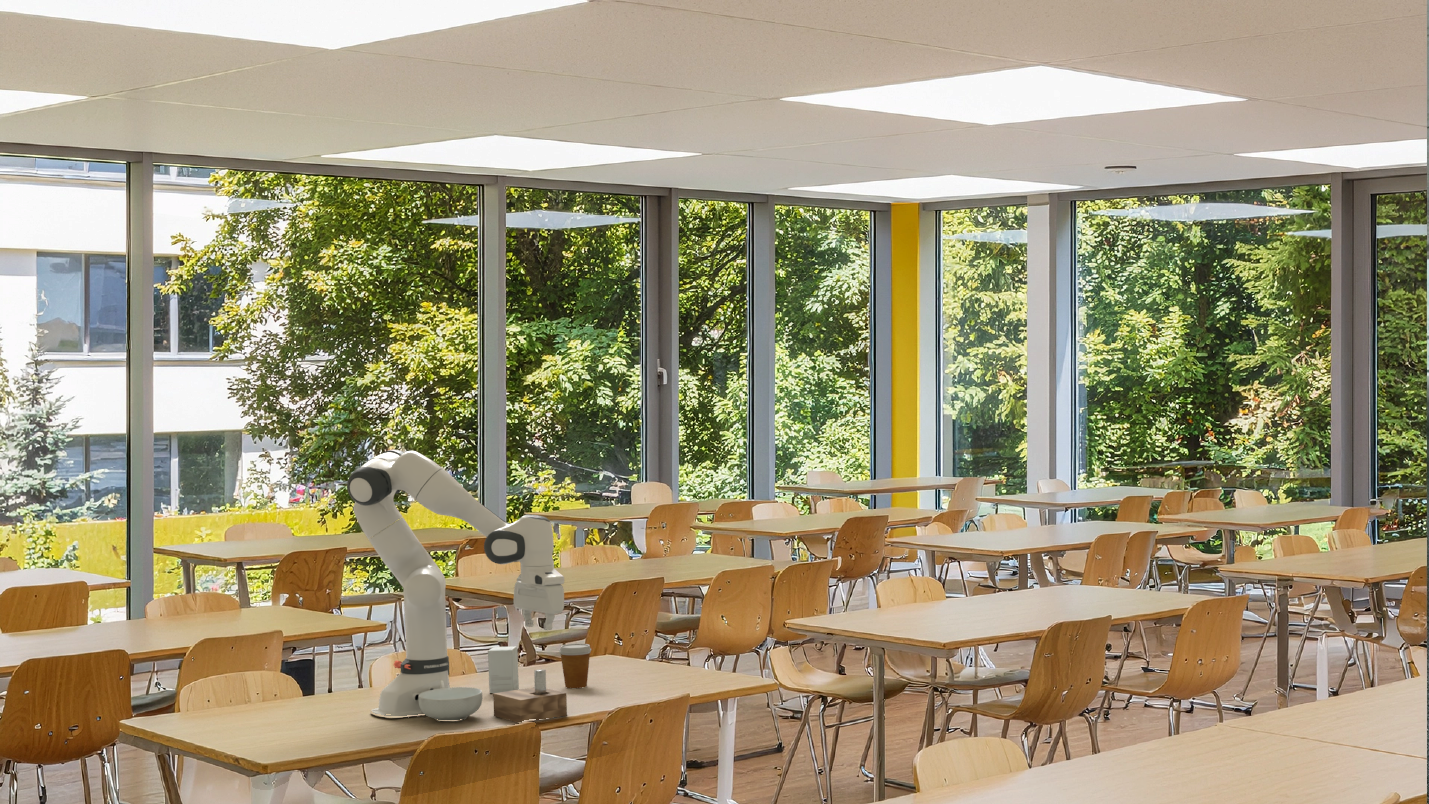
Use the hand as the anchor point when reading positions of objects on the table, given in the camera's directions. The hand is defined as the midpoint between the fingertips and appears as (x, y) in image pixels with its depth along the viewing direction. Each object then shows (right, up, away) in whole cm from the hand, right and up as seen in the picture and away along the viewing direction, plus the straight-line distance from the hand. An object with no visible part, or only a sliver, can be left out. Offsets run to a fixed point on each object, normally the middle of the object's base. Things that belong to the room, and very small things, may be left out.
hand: (538, 628), depth 393 cm
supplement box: (-15, -24, +38) cm, 47 cm away
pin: (+1, -21, -1) cm, 21 cm away
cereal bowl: (-23, -24, -1) cm, 33 cm away
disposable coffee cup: (+6, -24, +43) cm, 49 cm away
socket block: (-2, -23, 0) cm, 23 cm away
